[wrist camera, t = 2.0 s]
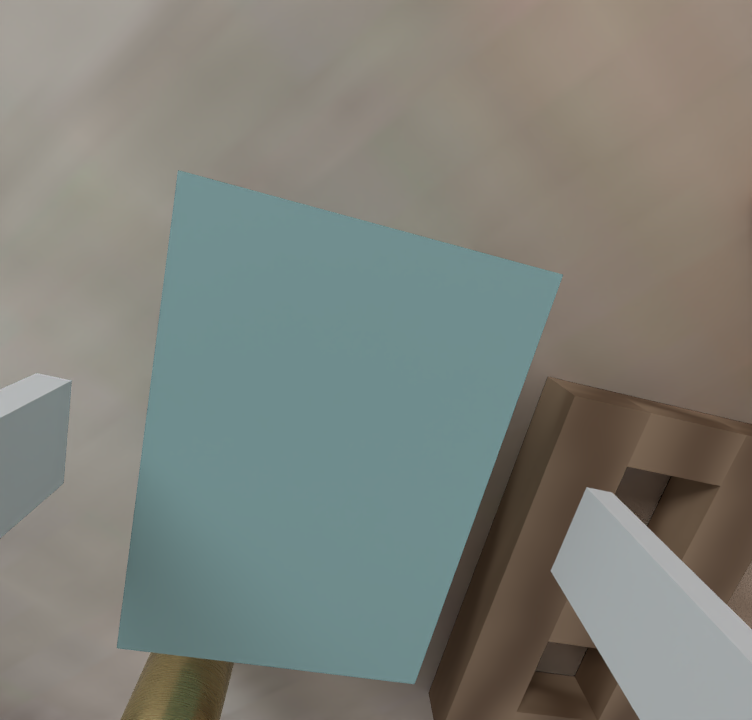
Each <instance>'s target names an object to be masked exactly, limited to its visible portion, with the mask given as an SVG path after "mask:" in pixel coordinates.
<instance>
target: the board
mask: <svg viewBox="0 0 752 720" xmlns="http://www.w3.org/2000/svg"><path fill="white" fill-rule="evenodd" d="M627 467H631V468H636V469H641V470H646V471H651V472H655V473H660V474H665V475H670V476H672V477H671V479H670V481H669V483H668V485H667V487H666V489H665V491H664V493H663V495H662V497H661V499H660V501H659V503H658V505H657V507H656V510H655V512H654V514H653V516H652V518H651V520H650V522H649V524H648V526H647V527H648V528H649V529H650V530H651V531H652V532H653V533H654V534H655V535H656V536H657V537H658V538H659V539H660V540H661V541H662V542H663V543H664V544H665V545H666V546H667V547H668V548H669V549H670V550H671V551H672V552H673V553H674V554H675V555H676V556H677V557H678V558H679V559H680V560H681V561H683V562H684V563H685V564H686V565H687V566H688V567H689V568H690V569H691V570H692V571H693V572H694V573H695V574H696V575H697V576H698V577H699V578H700V579H701V580H702V581H703V582H704V583H705V584H706V585H707V586H708V587H709V588H710V589H711V590H712V591H713V592H714V593H715V594H716V595H717V596H718V597H719V598H720V599H721V600H722V601H723V602H724V603H725V604H726V605H727V603H728V601H729V600H730V598H731V596H732V594H733V592H734V591H735V589H736V587H737V585H738V584H739V582H740V580H741V578H742V577H743V575H744V573H745V571H746V570H747V568H748V566H749V564H750V563H751V561H752V424H748V423H744V422H739V421H735V420H731V419H727V418H722V417H718V416H714V415H709V414H705V413H701V412H697V411H692V410H688V409H684V408H680V407H675V406H671V405H667V404H663V403H658V402H654V401H650V400H645V399H641V398H637V397H633V396H628V395H624V394H620V393H616V392H611V391H607V390H603V389H599V388H594V387H590V386H586V385H581V384H577V383H573V382H569V381H564V380H560V379H556V378H552V377H548V378H547V380H546V383H545V386H544V388H543V391H542V394H541V396H540V399H539V402H538V404H537V407H536V410H535V412H534V415H533V418H532V420H531V423H530V426H529V428H528V431H527V434H526V436H525V439H524V441H523V444H522V447H521V449H520V452H519V455H518V457H517V460H516V463H515V465H514V468H513V471H512V473H511V476H510V479H509V481H508V484H507V487H506V489H505V492H504V495H503V497H502V500H501V503H500V505H499V508H498V511H497V513H496V516H495V518H494V521H493V524H492V526H491V529H490V532H489V534H488V537H487V540H486V542H485V545H484V548H483V550H482V553H481V556H480V558H479V561H478V564H477V566H476V569H475V572H474V574H473V577H472V580H471V582H470V585H469V588H468V590H467V593H466V595H465V598H464V601H463V603H462V606H461V609H460V611H459V614H458V617H457V619H456V622H455V625H454V627H453V630H452V633H451V635H450V638H449V641H448V643H447V646H446V649H445V651H444V654H443V657H442V659H441V662H440V665H439V667H438V670H437V672H436V675H435V678H434V680H433V683H432V686H431V688H430V691H429V697H430V702H431V708H432V713H433V718H434V720H640V719H639V718H638V716H637V714H636V713H635V711H634V709H633V708H632V706H631V704H630V703H629V701H628V699H627V698H626V696H625V694H624V693H623V691H622V689H621V688H620V686H619V684H618V683H617V681H616V679H615V678H614V676H613V674H612V673H611V671H610V669H609V668H608V666H607V664H606V663H605V661H604V659H603V658H602V656H601V654H600V653H599V651H598V649H597V648H596V646H595V644H594V643H593V641H592V639H591V638H590V636H589V634H588V632H587V631H586V629H585V627H584V626H583V624H582V622H581V621H580V619H579V617H578V616H577V614H576V612H575V611H574V609H573V607H572V606H571V604H570V602H569V601H568V599H567V597H566V596H565V594H564V592H563V591H562V589H561V587H560V586H559V584H558V582H557V581H556V579H555V577H554V576H553V574H552V572H551V569H552V567H553V564H554V562H555V560H556V557H557V555H558V553H559V550H560V548H561V546H562V543H563V541H564V539H565V536H566V534H567V532H568V529H569V527H570V525H571V522H572V520H573V518H574V515H575V513H576V511H577V508H578V506H579V504H580V501H581V499H582V497H583V494H584V492H585V490H586V487H588V488H593V489H598V490H602V491H607V492H612V493H613V494H614V495H615V493H616V490H617V488H618V486H619V484H620V482H621V479H622V477H623V475H624V473H625V471H626V468H627ZM548 642H554V643H562V644H569V645H576V646H583V647H589V648H588V650H587V652H586V654H585V656H584V658H583V660H582V662H581V664H580V666H579V669H578V671H577V673H576V675H575V677H574V676H566V675H558V674H551V673H543V672H535V670H536V668H537V665H538V663H539V661H540V659H541V656H542V654H543V652H544V650H545V648H546V645H547V643H548Z"/></svg>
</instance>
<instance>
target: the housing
mask: <svg viewBox="0 0 752 720" xmlns="http://www.w3.org/2000/svg"><path fill="white" fill-rule="evenodd" d="M562 277H563V275H562V274H558V273H555V272H551V271H547V270H544V269H540V268H536V267H533V266H529V265H525V264H522V263H518V262H514V261H511V260H507V259H503V258H500V257H496V256H492V255H488V254H485V253H481V252H477V251H474V250H470V249H466V248H463V247H459V246H455V245H452V244H448V243H444V242H441V241H437V240H433V239H430V238H426V237H422V236H418V235H415V234H411V233H407V232H404V231H400V230H396V229H393V228H389V227H385V226H382V225H378V224H374V223H371V222H367V221H363V220H360V219H356V218H352V217H349V216H345V215H341V214H337V213H334V212H330V211H326V210H323V209H319V208H315V207H312V206H308V205H304V204H301V203H297V202H293V201H290V200H286V199H282V198H279V197H275V196H271V195H267V194H264V193H260V192H256V191H253V190H249V189H245V188H242V187H238V186H234V185H231V184H227V183H223V182H220V181H216V180H212V179H209V178H205V177H201V176H198V175H194V174H190V173H186V172H183V171H179V170H178V175H177V183H176V191H175V198H174V206H173V214H172V222H171V230H170V237H169V245H168V253H167V261H166V269H165V276H164V284H163V292H162V300H161V307H160V315H159V323H158V331H157V339H156V346H155V354H154V362H153V370H152V378H151V385H150V393H149V401H148V409H147V417H146V424H145V432H144V440H143V448H142V455H141V463H140V471H139V479H138V487H137V494H136V502H135V510H134V518H133V526H132V533H131V541H130V549H129V557H128V565H127V572H126V580H125V588H124V596H123V603H122V611H121V619H120V627H119V635H118V642H117V648H120V649H128V650H136V651H144V652H153V653H161V654H169V655H177V656H186V657H194V658H202V659H211V660H219V661H227V662H235V663H244V664H252V665H260V666H268V667H277V668H285V669H293V670H301V671H310V672H318V673H326V674H335V675H343V676H351V677H359V678H368V679H376V680H384V681H392V682H401V683H409V684H415V681H416V679H417V676H418V673H419V670H420V668H421V665H422V662H423V659H424V657H425V654H426V651H427V648H428V646H429V643H430V640H431V637H432V635H433V632H434V629H435V626H436V624H437V621H438V618H439V615H440V613H441V610H442V607H443V604H444V602H445V599H446V596H447V593H448V591H449V588H450V585H451V582H452V580H453V577H454V574H455V571H456V569H457V566H458V563H459V560H460V558H461V555H462V552H463V549H464V547H465V544H466V541H467V538H468V535H469V533H470V530H471V527H472V524H473V522H474V519H475V516H476V513H477V511H478V508H479V505H480V502H481V500H482V497H483V494H484V491H485V489H486V486H487V483H488V480H489V478H490V475H491V472H492V469H493V467H494V464H495V461H496V458H497V456H498V453H499V450H500V447H501V445H502V442H503V439H504V436H505V434H506V431H507V428H508V425H509V423H510V420H511V417H512V414H513V412H514V409H515V406H516V403H517V400H518V398H519V395H520V392H521V389H522V387H523V384H524V381H525V378H526V376H527V373H528V370H529V367H530V365H531V362H532V359H533V356H534V354H535V351H536V348H537V345H538V343H539V340H540V337H541V334H542V332H543V329H544V326H545V323H546V321H547V318H548V315H549V312H550V310H551V307H552V304H553V301H554V299H555V296H556V293H557V290H558V288H559V285H560V282H561V279H562Z"/></svg>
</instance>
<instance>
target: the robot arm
mask: <svg viewBox="0 0 752 720" xmlns="http://www.w3.org/2000/svg"><path fill="white" fill-rule="evenodd" d="M71 384H72V380H68V379H63V378H58V377H53V376H48V375H43V374H39V373H36V374H33V375H31V376H29V377H27V378H24V379H22V380H20V381H18V382H15V383H13V384H11V385H9V386H6V387H4V388H2V389H0V538H1V537H2V536H4V535H5V534H6V533H7V532H8V531H9V530H10V529H12V528H13V527H14V526H15V525H16V524H17V523H18V522H20V521H21V520H22V519H23V518H24V517H25V516H27V515H28V514H29V513H30V512H31V511H32V510H33V509H35V508H36V507H37V506H38V505H39V504H40V503H41V502H43V501H44V500H45V499H46V498H47V497H48V496H49V495H51V494H52V493H53V492H54V491H55V490H56V489H58V488H59V487H60V486H61V485H62V484H63V483H64V471H65V458H66V446H67V433H68V421H69V409H70V396H71ZM551 572H552V574H553V576H554V577H555V579H556V581H557V582H558V584H559V586H560V587H561V589H562V591H563V592H564V594H565V596H566V597H567V599H568V601H569V602H570V604H571V606H572V607H573V609H574V611H575V612H576V614H577V616H578V617H579V619H580V621H581V622H582V624H583V626H584V627H585V629H586V631H587V632H588V634H589V636H590V638H591V639H592V641H593V643H594V644H595V646H596V648H597V649H598V651H599V653H600V654H601V656H602V658H603V659H604V661H605V663H606V664H607V666H608V668H609V669H610V671H611V673H612V674H613V676H614V678H615V679H616V681H617V683H618V684H619V686H620V688H621V689H622V691H623V693H624V694H625V696H626V698H627V699H628V701H629V703H630V704H631V706H632V708H633V709H634V711H635V713H636V714H637V716H638V718H639V719H640V720H752V629H751V628H750V627H749V626H748V625H747V624H746V623H745V622H744V621H743V620H742V619H741V618H740V617H739V616H737V615H736V614H735V613H734V612H733V611H732V610H731V609H730V608H729V607H728V606H727V605H726V604H725V603H724V602H723V601H722V600H721V599H720V598H719V597H718V596H717V595H716V594H715V593H714V592H713V591H712V590H711V589H710V588H709V587H708V586H707V585H706V584H705V583H704V582H703V581H702V580H701V579H700V578H699V577H698V576H697V575H696V574H695V573H694V572H693V571H692V570H691V569H690V568H689V567H688V566H687V565H686V564H685V563H684V562H683V561H681V560H680V559H679V558H678V557H677V556H676V555H675V554H674V553H673V552H672V551H671V550H670V549H669V548H668V547H667V546H666V545H665V544H664V543H663V542H662V541H661V540H660V539H659V538H658V537H657V536H656V535H655V534H654V533H653V532H652V531H651V530H650V529H649V528H648V527H647V526H646V525H645V524H644V523H643V522H642V521H641V520H640V519H639V518H638V517H637V516H636V515H635V514H634V513H633V512H632V511H631V510H630V509H629V508H628V507H626V506H625V505H624V504H623V503H622V502H621V501H620V500H619V499H618V498H617V497H616V496H615V495H614V494H613V493H612V492H607V491H602V490H598V489H593V488H588V487H586V490H585V492H584V494H583V497H582V499H581V501H580V504H579V506H578V508H577V511H576V513H575V515H574V518H573V520H572V522H571V525H570V527H569V529H568V532H567V534H566V536H565V539H564V541H563V543H562V546H561V548H560V550H559V553H558V555H557V557H556V560H555V562H554V564H553V567H552V569H551Z"/></svg>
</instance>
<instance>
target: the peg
mask: <svg viewBox="0 0 752 720" xmlns="http://www.w3.org/2000/svg"><path fill="white" fill-rule="evenodd" d="M233 664H234V662H227V661H219V660H211V659H202V658H194V657H186V656H177V655H169V654H161V653H153V652H151V653H150V656H149V658H148V660H147V662H146V664H145V667H144V669H143V671H142V673H141V675H140V678H139V680H138V682H137V684H136V686H135V689H134V691H133V693H132V695H131V698H130V700H129V702H128V704H127V706H126V709H125V711H124V713H123V715H122V717H121V720H220V717H221V713H222V709H223V705H224V701H225V697H226V693H227V689H228V685H229V680H230V676H231V672H232V668H233Z"/></svg>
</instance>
